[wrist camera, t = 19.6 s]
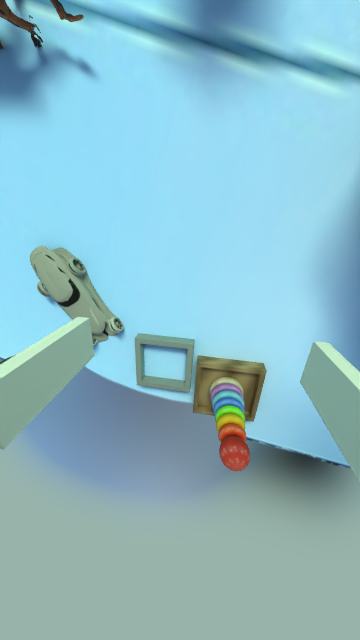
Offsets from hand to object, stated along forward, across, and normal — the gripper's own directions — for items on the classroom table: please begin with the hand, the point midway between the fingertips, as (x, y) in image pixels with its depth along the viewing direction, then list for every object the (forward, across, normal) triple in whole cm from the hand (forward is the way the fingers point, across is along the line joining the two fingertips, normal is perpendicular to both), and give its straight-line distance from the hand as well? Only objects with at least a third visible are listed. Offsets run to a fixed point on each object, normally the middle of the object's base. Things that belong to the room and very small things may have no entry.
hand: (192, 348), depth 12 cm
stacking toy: (+31, +7, -28) cm, 42 cm away
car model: (+32, -28, -8) cm, 44 cm away
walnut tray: (+32, +8, -28) cm, 43 cm away
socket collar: (+32, -8, -23) cm, 40 cm away
